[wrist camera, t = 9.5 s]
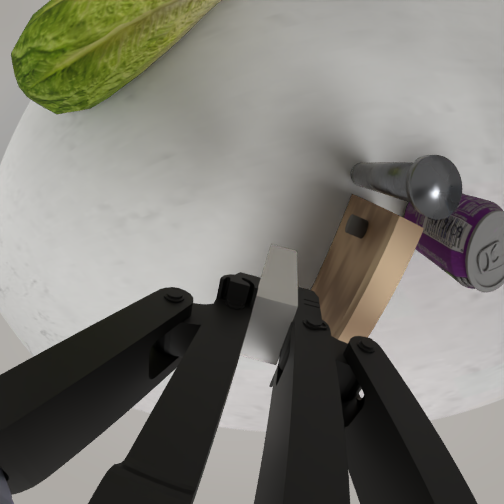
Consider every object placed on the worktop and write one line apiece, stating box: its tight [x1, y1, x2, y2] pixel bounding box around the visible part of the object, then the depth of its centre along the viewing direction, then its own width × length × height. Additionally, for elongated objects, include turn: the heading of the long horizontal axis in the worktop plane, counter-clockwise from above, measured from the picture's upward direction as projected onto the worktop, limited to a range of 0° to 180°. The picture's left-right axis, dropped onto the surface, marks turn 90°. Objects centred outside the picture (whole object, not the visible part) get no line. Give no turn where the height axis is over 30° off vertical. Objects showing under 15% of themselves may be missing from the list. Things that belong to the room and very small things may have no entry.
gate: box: [311, 194, 424, 344], centre depth 22 cm, size 15×3×12 cm, turn 161°
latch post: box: [351, 155, 462, 220], centre depth 18 cm, size 3×3×15 cm
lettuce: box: [11, 0, 221, 114], centre depth 17 cm, size 15×24×14 cm, turn 110°
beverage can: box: [404, 194, 504, 292], centre depth 20 cm, size 7×7×12 cm
